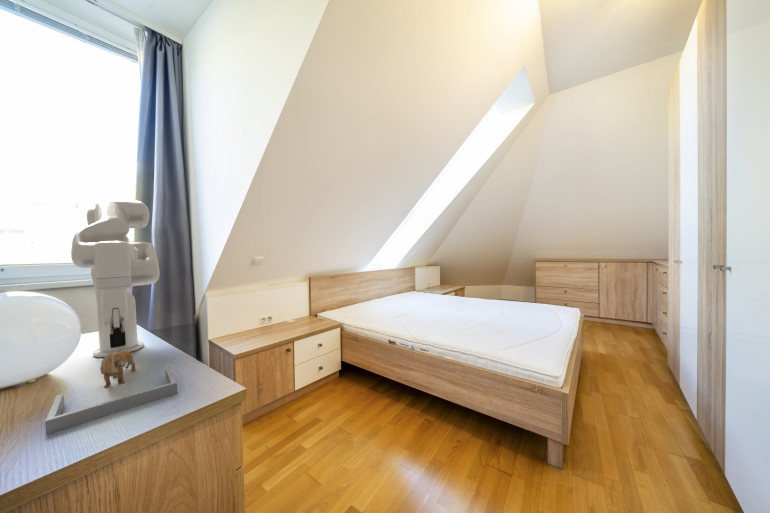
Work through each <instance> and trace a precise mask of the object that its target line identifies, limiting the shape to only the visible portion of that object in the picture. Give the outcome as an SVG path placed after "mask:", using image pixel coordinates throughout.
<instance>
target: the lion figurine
mask: <svg viewBox="0 0 770 513" xmlns="http://www.w3.org/2000/svg"><path fill="white" fill-rule="evenodd" d="M100 364H101V365H100V373H101V375H103V379H104V382H105V385H104V386H103V389H107V388H110V387H111V385H112V382H111V377H112V379H116V378H117V383H118V385H122V384H125V383H126V381H125V380H124V368H125V370H127V369H129V367H130V366H131V369H130V372H131V373H133V372H136V371H137V369H136V363H135V362H134V357H133V354H132V352H128V351H123V352H120V353H118V352H116V353H115V352H114V353H111V354H108V355H107V356H106V357H103V360H102V361H101V363H100ZM126 364H127V365H126Z"/></svg>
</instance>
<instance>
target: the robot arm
mask: <svg viewBox="0 0 770 513" xmlns="http://www.w3.org/2000/svg"><path fill="white" fill-rule="evenodd" d="M86 221H87V222H86V223H87V226H85V227H83V228H81V229H80V230H78V231H77V232H76V233H75V235H74V236H73V238H72V241H71V242H72V243H71V250H70V251H71V252H70V254H71V257H70V258H71V260H72V263H73V264H74V265H75V266H77V267H79V268H82V269H83V268H84V269H90V275H91V276H90V277H91V280H92V284H93V287H94V291H95V299H96V312H97V313H96V314H97V325H98V326H97V327H98V328H97V329H98V344H99V348H97V349H95V350H94V351H93V352H92V354H93V355H92V356H93V357H95V358H105V357H106V356H107V355H108V354H111V353H114V352H115V353H116V352H118V353H120V352H123V351H128V352H131V353H132V352H135V351H137V350H140V349H141V348H143V347H144V342H143V341H140V340H139V339H138V325H137V323H138V322H137V321H138V320H137V308H136V307H137V306H136V304H137V303H136V298H135V296H134V295H133V294H132V293H131V292H130V291H128V289H129V288H133V287H138V286H146V285H153V284H156V283H158V281H159V279H160V274H161V273H160V272H161V271H160V265H159V261H158V256H157V255H158V254H157V251H156V249H155V248H156V247H155V246H154V244H153V243H150V242H148V241H130V239H129V238H128V236H127V235H128V233H129V232H130V229H144V228H146V227H147V226H148V224H149V221H150V210H149V207H148V206H147V205H146V204H145V203H144V202H142V201H140V200H128V199H117V198H116V199H114V198H113V199H112V198H108V199H107V198H106V199H102V200H99V201H97V202H96V204H95V206H94V207H93V206H92V207H90V208H89V209H88V210H87V213H86Z"/></svg>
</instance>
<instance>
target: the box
mask: <svg viewBox="0 0 770 513" xmlns="http://www.w3.org/2000/svg"><path fill="white" fill-rule="evenodd" d="M164 369H165V370H164V371H165V379H166V381H167V384H162V385H159V386H156V387H151V388H148V389H145V390H142V391H138V392H134V393H132V394H128V395H125V396H121V397H118V398H115V399H111V400H108V401H104V402H100V403H96V404H94V405H93V404H92V405H90V406H86V407H83V408H80V409H75V410H72V411H69V412H65V413H62V412H63V409H64V406H65V396H64V393H62V394H57V395H56V396H55V399H54V401H53V403H52V406H51V407H50V409H49V412H48V413H47V417H46V418H45V421H44V424H45V426H44V427H45V435H49V434H50V433H54V432H58V431H61V430H64V429H67V428H70V427H74V426H77V425H80V424H84V423H86V422H90V421H92V420H96V419H99V418H103V417H106V416H109V415H111V414H115V413H119V412H122V411H124V410H129V409H130V408H134V407H138V406H141V405H144V404H147V403H151V402H153V401H156V400H159V399H163V398H165V397H168V396H173V395H175V394H178V382H177V380H176V378H175V375H174V373H173V371H172V368H171V366H167V367H165V368H164Z"/></svg>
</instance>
